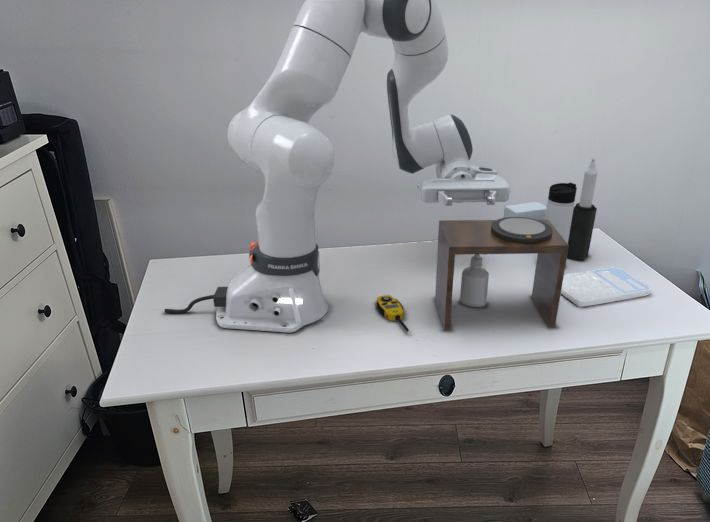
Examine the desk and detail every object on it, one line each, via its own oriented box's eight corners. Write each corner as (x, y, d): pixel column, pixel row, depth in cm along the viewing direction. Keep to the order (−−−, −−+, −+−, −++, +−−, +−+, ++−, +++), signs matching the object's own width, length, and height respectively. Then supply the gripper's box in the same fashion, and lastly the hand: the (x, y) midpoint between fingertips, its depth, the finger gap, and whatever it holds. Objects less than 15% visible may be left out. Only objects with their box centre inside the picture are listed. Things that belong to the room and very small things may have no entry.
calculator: (545, 283, 145) (547, 275, 144) (616, 271, 151) (617, 264, 150) (578, 308, 134) (580, 300, 133) (652, 295, 141) (654, 287, 140)
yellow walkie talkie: (393, 292, 134) (419, 324, 122) (393, 300, 135) (419, 332, 123) (372, 295, 132) (396, 328, 120) (372, 303, 133) (396, 336, 122)
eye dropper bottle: (475, 310, 132) (479, 258, 125) (456, 301, 135) (460, 250, 129) (489, 304, 134) (494, 253, 128) (470, 295, 138) (474, 245, 131)
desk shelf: (444, 330, 124) (449, 246, 115) (435, 298, 136) (439, 220, 126) (555, 327, 127) (569, 245, 117) (536, 296, 138) (548, 219, 129)
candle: (582, 261, 156) (600, 161, 143) (563, 257, 158) (579, 158, 145) (589, 255, 159) (607, 157, 146) (570, 250, 162) (587, 153, 148)
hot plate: (498, 244, 117) (498, 237, 116) (485, 221, 127) (486, 215, 126) (559, 243, 118) (560, 236, 117) (542, 221, 128) (543, 215, 127)
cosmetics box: (533, 238, 168) (538, 200, 163) (546, 246, 164) (552, 208, 158) (499, 242, 165) (503, 204, 159) (512, 251, 160) (516, 212, 154)
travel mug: (570, 266, 153) (584, 186, 143) (550, 272, 150) (563, 191, 139) (552, 257, 157) (564, 179, 147) (533, 263, 154) (544, 183, 144)
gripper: (416, 169, 144) (423, 188, 132) (502, 169, 146) (516, 187, 134) (415, 196, 147) (422, 216, 135) (500, 195, 149) (513, 215, 137)
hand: (470, 202), depth 135 cm, fingers open, 8 cm apart
